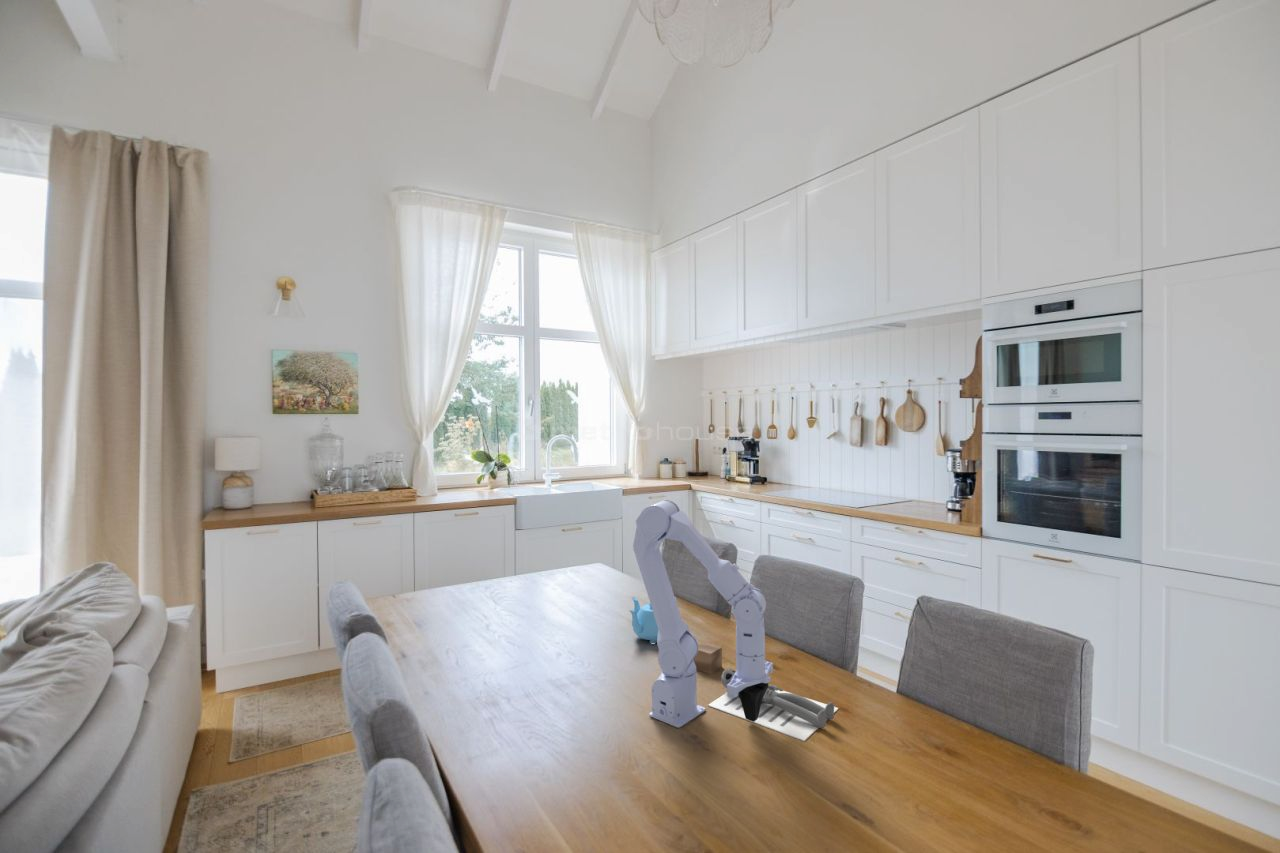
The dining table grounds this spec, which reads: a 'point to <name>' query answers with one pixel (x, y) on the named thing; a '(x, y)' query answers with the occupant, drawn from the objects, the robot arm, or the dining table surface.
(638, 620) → the teapot
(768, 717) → the white card
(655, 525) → the robot arm
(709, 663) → the walnut cube
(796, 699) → the alien figure
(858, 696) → the dining table surface
